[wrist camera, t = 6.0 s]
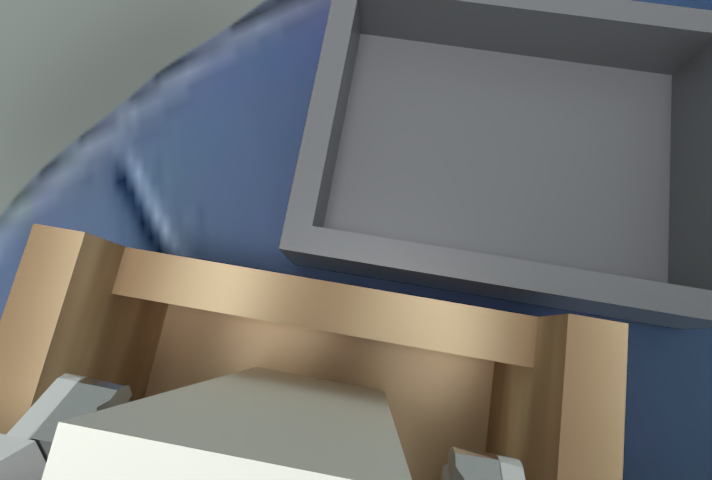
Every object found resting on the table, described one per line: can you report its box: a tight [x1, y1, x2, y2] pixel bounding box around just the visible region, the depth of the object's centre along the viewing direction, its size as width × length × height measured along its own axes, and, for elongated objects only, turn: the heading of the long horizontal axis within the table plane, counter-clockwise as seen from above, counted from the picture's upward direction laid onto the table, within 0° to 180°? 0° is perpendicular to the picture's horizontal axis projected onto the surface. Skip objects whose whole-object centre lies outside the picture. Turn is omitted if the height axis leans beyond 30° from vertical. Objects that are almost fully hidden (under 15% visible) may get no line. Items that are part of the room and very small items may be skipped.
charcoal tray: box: [279, 0, 712, 329], centre depth 18 cm, size 16×12×4 cm
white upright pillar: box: [41, 367, 412, 480], centre depth 11 cm, size 5×2×11 cm, turn 80°
